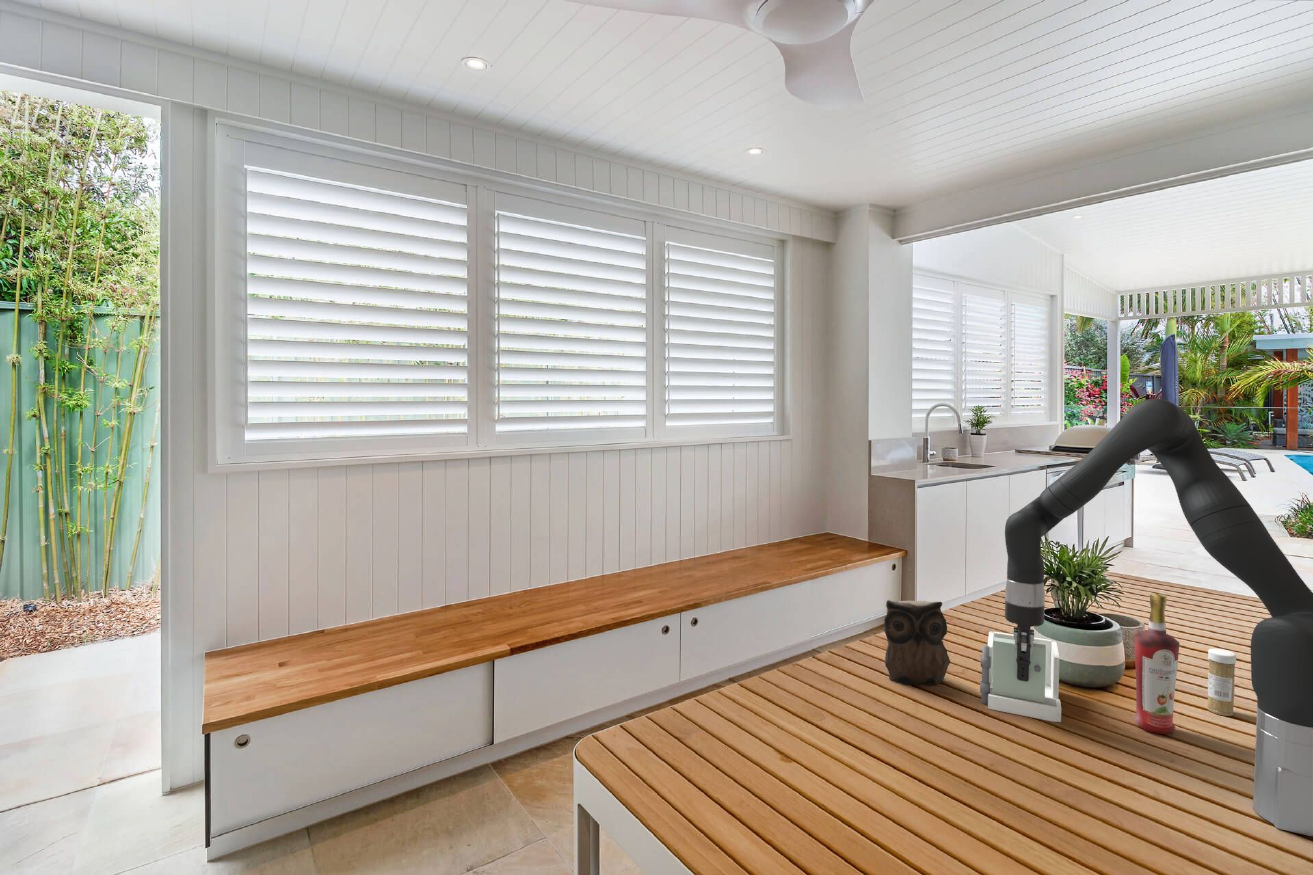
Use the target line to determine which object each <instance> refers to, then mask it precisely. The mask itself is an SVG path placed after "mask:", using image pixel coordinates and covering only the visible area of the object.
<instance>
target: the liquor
mask: <svg viewBox="0 0 1313 875" xmlns="http://www.w3.org/2000/svg"><path fill="white" fill-rule="evenodd" d="M1149 606H1150V613H1149V621H1148V629H1147V630H1142V631H1140V632H1138V633H1136V634H1134V662H1135V666H1134V667H1135V684H1136V685H1135V688H1136V690H1135V692H1136V695H1135V696H1136V697H1135V698H1136V701H1135V703H1136V714H1134V716H1133V721H1135V722H1136V723H1137V724H1138V726H1139V727H1140V728H1141V729H1142V730H1144V731H1146V732H1149V733H1152V734H1159V735H1164V734H1167V733H1170V732H1172V731H1174V730H1175V729H1176V726H1175V724H1174V722H1173V720H1174V708H1175V707H1174V705H1175V693H1176V692H1175V691H1176V685H1177V684H1176V682H1177V674H1178V665H1179V653H1180V642H1179V641H1178V640H1177V639H1176V638H1175V637H1174V636H1172V635H1171V634H1168V633H1167V626H1166V616H1165V614H1166V613H1165V612H1166V611H1165V610H1166V607H1167V595H1164V594H1160V593H1150V594H1149Z"/></svg>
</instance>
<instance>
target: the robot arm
mask: <svg viewBox="0 0 1313 875" xmlns="http://www.w3.org/2000/svg"><path fill="white" fill-rule="evenodd" d="M1146 450H1149V451H1150V452H1151V454H1152V455H1153V456H1154V457H1155V458H1156V459H1157V461H1158V462H1159V463H1160V464H1161V466H1162V467H1163V469H1164V470H1165V472H1166V473H1167V474H1168V475H1169V477H1170V479H1171V481H1172V483H1173V485H1174V489H1175V492H1176V495H1177V498H1178V502H1179V505H1180V508H1181V512H1182V513H1183V515H1184V517H1185V519H1186V521H1187V523H1188V525H1189V526H1190V528H1191V530H1192V531H1193V532H1194V535H1195V536H1196V538H1197V539H1198V541H1199V542H1200V544H1201V546H1202V547H1203V548H1204V550H1205V551H1206V552H1207V553H1208V554H1209V555H1210V556H1211V557H1212V558H1213V559H1214V560H1215V561H1216V562H1217V563H1218V564H1220V565H1221V566H1222V567H1224V568H1225V569H1226V570H1227V571H1229V572H1230V573H1231V574H1233V575H1234V576H1236V578H1238V580H1240V581H1241V582H1242V583H1244V584H1245V585H1247V586H1248V588H1250V589H1251V590H1252V591H1253V592H1254V594H1256V596H1257V597H1258V598H1259V601H1261V602H1262V604H1263V606H1264V607H1265V608H1266V609H1267V612H1268V613H1269V615H1270V616H1271V617H1268V618H1265V619H1263V620H1261V621H1259V622H1258V623H1257V624H1256V625H1255V627H1254V628H1253V630H1252V634H1251V640H1250V673H1251V676H1250V677H1251V678H1250V680H1251V686H1252V689H1253V692H1254V694H1255V695H1256V724H1255V743H1254V744H1255V745H1254V746H1255V748H1254V774H1253V776H1254V777H1253V796H1252V798H1253V800H1252V806H1253V807H1252V808H1253V809H1254V811H1255V813H1256V814H1258V815H1259V816H1260V817H1261V818H1263V819H1264V820H1266V821H1268V822H1269V823H1270V824H1272V825H1274V828H1276V829H1278V830H1282V831H1283V830H1284V831H1287V832H1291V833H1296V834H1301V835H1305V836H1309V837H1313V591H1312V590H1311V589H1310V588H1309V586H1308V585H1307V583H1305V582H1304V580H1303V579H1302V577H1301V576H1300V575H1299V573H1298V572H1297V571H1296V569H1295V568H1294V567H1293V565H1292V563H1291V562H1290V561H1289V560H1288V558H1287V556H1286V555H1285V553H1284V552H1283V551H1282V549H1281V548H1280V547H1279V545H1278V544H1277V543H1276V541H1275V540H1274V539H1273V537H1272V535H1271V534H1270V533H1269V530H1268V529H1267V527H1266V526H1265V524H1264V522H1263V521H1262V520H1261V519H1260V517H1259V516H1258V514H1257V513H1256V511H1255V510H1254V509H1253V507H1252V505H1251V504H1250V502H1248V501H1247V499H1246V498H1245V497H1244V495H1243V494H1242V492H1241V491H1240V490H1239V489H1238V488H1237V487H1236V486H1237V485H1235V484H1234V483H1233V481H1232V480H1231V479H1230V478H1229V476H1227V475H1226V473H1225V472H1224V471H1223V470H1222V469H1221V467H1220V466H1219V465H1218V464H1217V462H1216V461H1215V460H1214V458H1213V456H1212V454H1211V453H1210V451H1209V449H1208V448H1207V446H1206V444H1205V442H1204V439H1202V437H1201V434H1200V433H1199V431H1198V428H1197V427H1196V424H1195V422H1194V420H1193V419H1192V417H1191V416H1190V415H1189V413H1187V411H1185V410H1184V409H1182V408H1181V407H1180V406H1178V405H1176V404H1175V403H1173V402H1171V401H1169V400H1166V399H1162V398H1149V399H1146V400H1145V399H1144V400H1141V401H1139V402H1138V403H1136V404H1134V405H1133V406H1132V407H1131V408H1130V409H1129V410H1128V411H1127V412H1126V413H1125V414H1124V415H1123V416H1122V417H1121V419H1120V420H1119V421H1118V422H1117V423H1116V424H1115V425H1114V427H1112V429H1111V430H1110V431H1109V432H1108V433H1107V434H1106V435H1105V436H1104V437H1103V438H1102V439H1101V440H1100V441H1099V442H1098V443H1097V444H1096V445H1095V446H1094V447H1093V448H1092V450H1090V451H1089V452H1088V453H1087V454H1086V455H1085V456H1083V457H1082V459H1081V460H1079V461H1078V462H1077V463H1075V465H1073V466H1072V467H1071V468H1069V470H1067V471H1066V472H1065V473H1064V474H1062V475H1061V476H1059V477H1058V478H1057V479H1056V480H1055V481H1053V482H1052V483H1051V484H1049V485H1048V486H1047V487H1046V488H1044V490H1043V491H1041V493H1040V495H1039V496H1038V497H1036V498H1034V499H1033V500H1032V501H1030V502H1029V503H1028V504H1026V505H1025V506H1024V507H1022V508H1021V509H1020V510H1018V511H1016V512H1013V513H1012V514H1010V515H1009V516H1008V518H1007V520H1006V522H1005V526H1004V539H1005V540H1004V541H1005V546H1006V547H1005V548H1006V554H1007V564H1006V567H1007V568H1006V583H1005V591H1004V592H1005V596H1004V597H1005V598H1004V618H1005V620H1006V621H1007V622H1009V623H1012V624H1015V625H1016V626H1013V634H1014V639H1015V652H1016V653H1017V659H1016V661H1017V679H1018V680H1020V681H1026V682H1027V681H1028V680H1029V665H1030V664H1031V661H1030V655H1032V653H1033V642H1034V638H1035V629H1031V627H1035V628H1036V627H1040V626H1043V625H1044V624H1045V606H1046V605H1045V604H1046V602H1045V600H1046V593H1045V592H1046V591H1045V583H1044V581H1045V562H1044V558H1043V557H1042V555H1041V553H1042V552H1041V551H1042V549H1041V548H1042V547H1041V546H1042V538H1043V537H1044V536H1045V535H1046V534H1048V533H1049V532H1050V531H1051V530H1052V529H1053V528H1055V527H1056V526H1057V525H1058V524H1060V523H1061V522H1062V521H1063V520H1064V519H1065V518H1068V517H1070V516H1071V515H1073V514H1074V513H1076V512H1078V511H1079V510H1080V509H1081V508H1082V507H1084V506H1085V505H1087V504H1088V503H1089V502H1090V501H1092V500H1093V499H1094V498H1095V497H1096V496H1097V495H1098V494H1099V493H1101V491H1102V490H1103V489H1104V488H1105V487H1106V486H1107V484H1108V483H1109V482H1110V480H1111V479H1112V478H1113V476H1115V474H1116V473H1117V472H1118V471H1119V470H1120V469H1121V468H1122V467H1123V466H1124V465H1126V464H1127V463H1128V462H1129V461H1131V459H1133V458H1134V457H1135V456H1137V455H1139V454H1141V453H1142V452H1144V451H1146ZM1019 657H1027V659H1024V658H1019Z"/></svg>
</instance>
